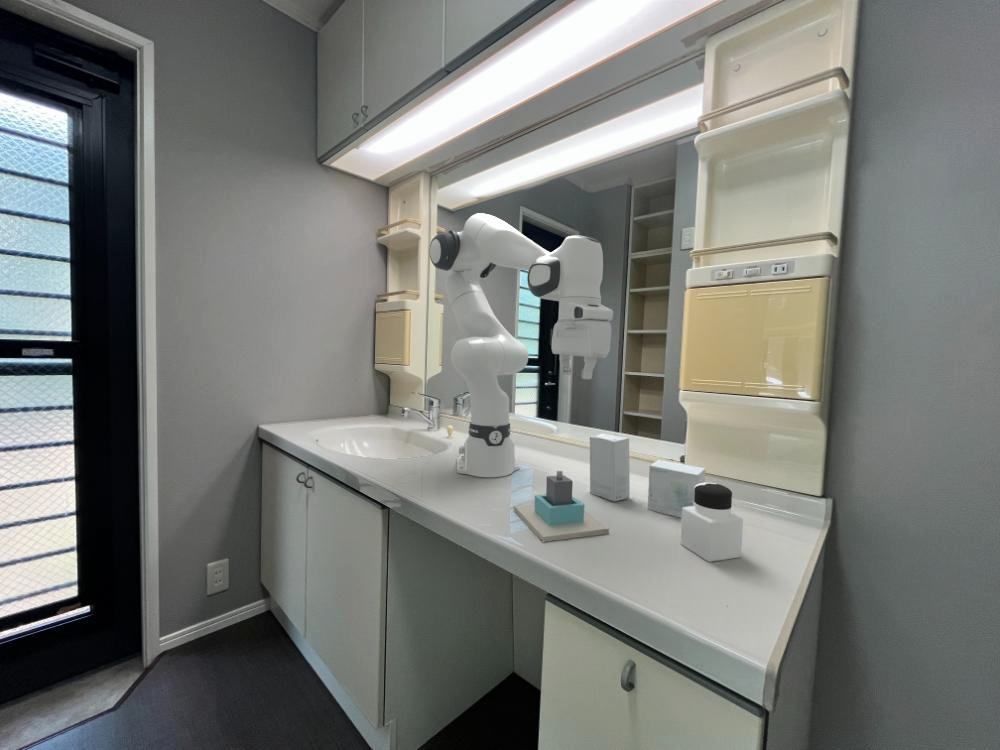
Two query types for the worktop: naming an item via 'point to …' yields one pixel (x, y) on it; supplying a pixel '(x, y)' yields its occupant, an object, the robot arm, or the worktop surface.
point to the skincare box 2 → (672, 486)
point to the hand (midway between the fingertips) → (575, 376)
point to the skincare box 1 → (609, 467)
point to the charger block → (559, 489)
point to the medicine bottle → (712, 524)
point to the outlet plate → (559, 520)
